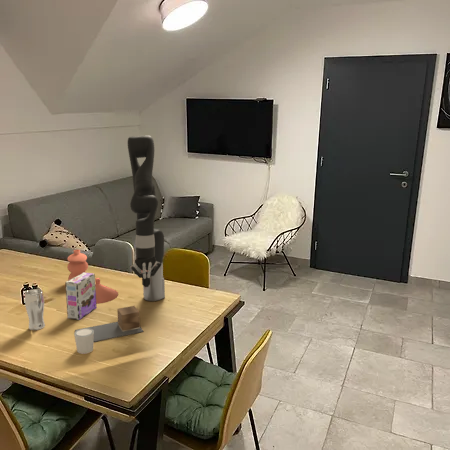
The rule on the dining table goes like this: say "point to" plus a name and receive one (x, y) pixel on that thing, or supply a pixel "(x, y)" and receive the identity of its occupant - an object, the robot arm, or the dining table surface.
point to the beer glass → (35, 308)
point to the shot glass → (84, 340)
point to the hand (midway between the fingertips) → (146, 286)
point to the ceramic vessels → (102, 292)
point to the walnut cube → (128, 318)
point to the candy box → (80, 295)
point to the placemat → (110, 331)
